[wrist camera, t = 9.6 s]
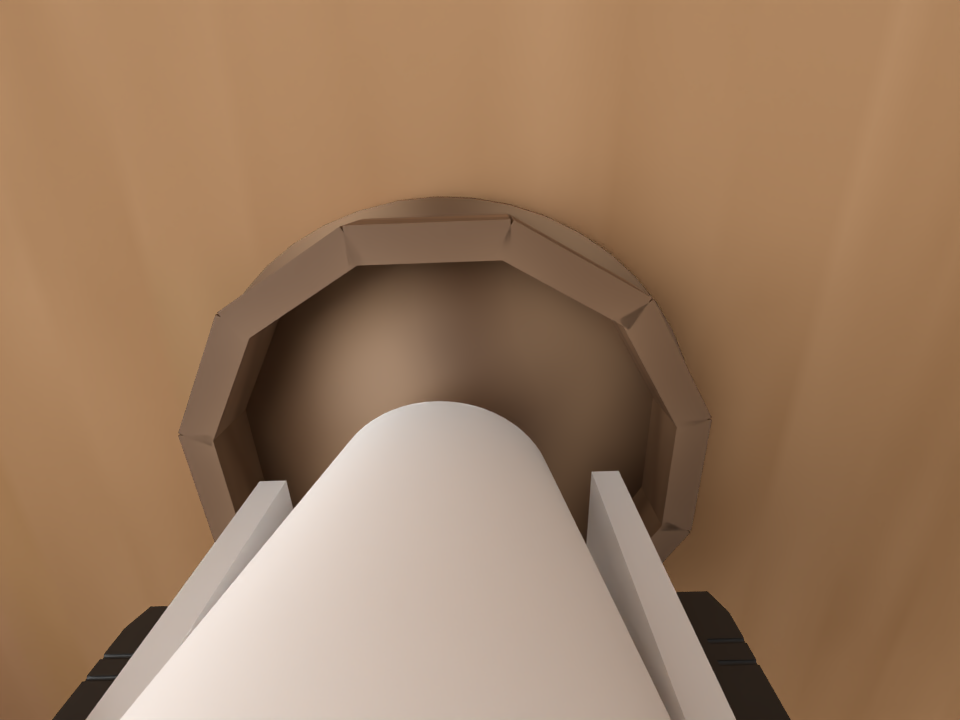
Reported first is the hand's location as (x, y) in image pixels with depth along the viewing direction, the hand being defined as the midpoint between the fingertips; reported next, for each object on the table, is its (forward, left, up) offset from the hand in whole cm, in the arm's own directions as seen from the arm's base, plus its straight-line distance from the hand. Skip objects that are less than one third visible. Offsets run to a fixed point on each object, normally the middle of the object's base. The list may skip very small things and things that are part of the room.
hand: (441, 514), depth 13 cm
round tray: (0, 0, -4) cm, 4 cm away
